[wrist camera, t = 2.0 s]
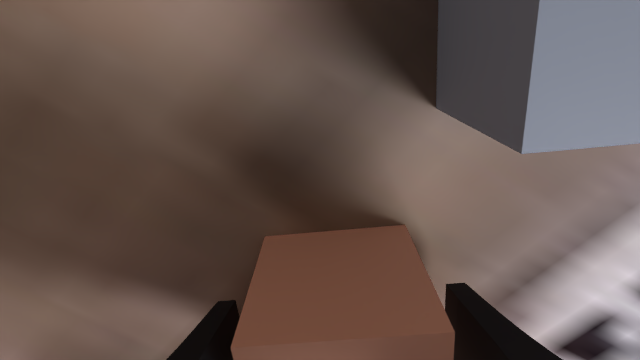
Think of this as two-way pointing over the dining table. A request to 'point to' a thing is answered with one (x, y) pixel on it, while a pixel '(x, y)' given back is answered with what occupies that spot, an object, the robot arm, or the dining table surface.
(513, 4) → the slate block
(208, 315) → the robot arm
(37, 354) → the dining table surface
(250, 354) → the terracotta block
